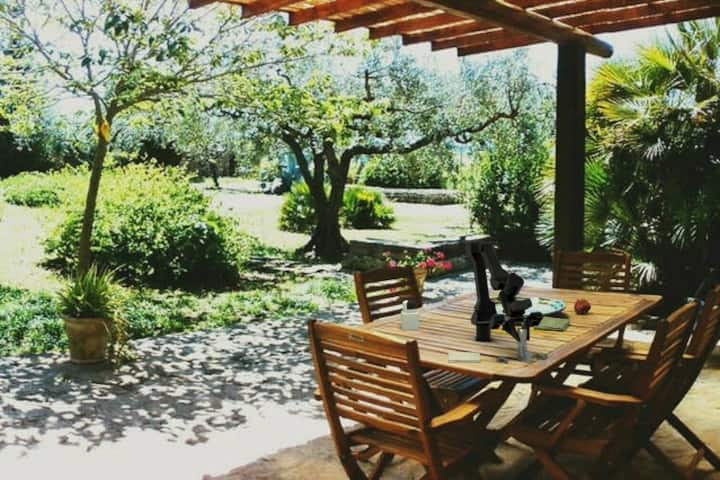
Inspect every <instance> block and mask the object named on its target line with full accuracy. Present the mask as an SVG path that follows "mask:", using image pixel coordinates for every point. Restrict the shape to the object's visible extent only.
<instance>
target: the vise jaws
mask: <svg viewBox="0 0 720 480" xmlns="http://www.w3.org/2000/svg"><path fill="white" fill-rule="evenodd" d="M535 357H536V358H537V359H540V360H541V361H546V359H548V356H547V355H543V354H542V353H539V352H537V353H535ZM496 362H497V363H498V362H499V363H503V362H504V364H509V359H508V358H506V357H504V356H498V359H496Z"/></svg>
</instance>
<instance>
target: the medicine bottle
mask: <svg viewBox="0 0 720 480" xmlns="http://www.w3.org/2000/svg"><path fill="white" fill-rule="evenodd" d="M400 327H401V329H402V331H419V330H420V313H419V311H418V302H417V301H416V300H411V299H408V300H407V299H406V300H403V301H402V310H401V311H400Z"/></svg>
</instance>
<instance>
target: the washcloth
mask: <svg viewBox="0 0 720 480" xmlns="http://www.w3.org/2000/svg"><path fill="white" fill-rule="evenodd" d="M543 317H544V318H543V319H542V321H541V323H540V324H539V326H534V327H533V329H534V330H538V331H539V330H540V331H555V332H566V331H567V329H568V328H569V327H570V322H571V320H570V319H568V318H559V317H557V318H556V317H550V316H543Z"/></svg>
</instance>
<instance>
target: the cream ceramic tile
mask: <svg viewBox="0 0 720 480" xmlns="http://www.w3.org/2000/svg"><path fill="white" fill-rule="evenodd" d="M480 354H481V353H480V352H467V351H466V352H460V351H459V352H458V351H457V352H454V351H453V352H449V351H448V362H449V361H462V362H461V363H471V362H482V361H481V360H482V359H481V355H480Z"/></svg>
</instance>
